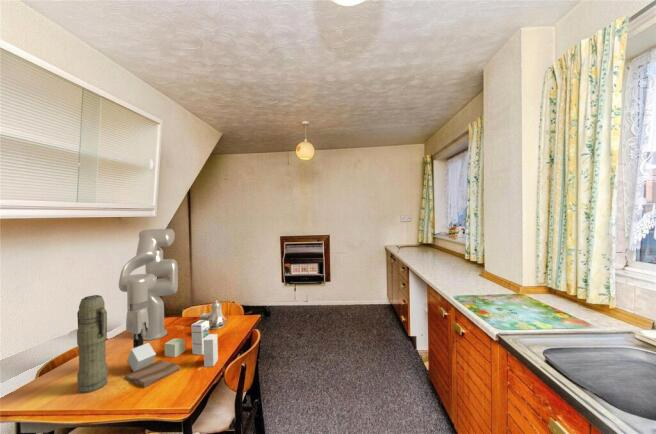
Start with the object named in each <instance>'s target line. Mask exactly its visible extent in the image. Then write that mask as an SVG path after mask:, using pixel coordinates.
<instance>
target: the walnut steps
mask: <svg viewBox="0 0 656 434" xmlns="http://www.w3.org/2000/svg"><path fill="white" fill-rule="evenodd" d="M179 371H180V364H178V363H177V364H176V363H175V362H172V361H169V360H168V361H167V362H166V361H164V360H162V359H159V360H157V361H155V362H154V361H153V363H152V364H150V365H148V366H146V367H143V368H141V369H139V370H137V371H134V372H133V371H132V372H130V373H127V374H126V375H125V377H124V378H125V379H127V380H129V381H130V382H132V383H134V384H137V385H138V386H140V387H142V388H144V389H145V388H147V387H149V386H151V385H153V384H155V383H157V382H159V381H161V380H163V379H165V378H167V377H168V376H170V375H172V374H174V373H177V372H179Z"/></svg>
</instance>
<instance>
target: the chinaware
mask: <svg viewBox="0 0 656 434" xmlns="http://www.w3.org/2000/svg"><path fill="white" fill-rule="evenodd" d="M222 305H223V303H222V302H219V301H218V300H217V299H216V300H214V302H213V303H211V304H210V307H211V312H206V313H205V312H203V313H201V314H200V315H198V318H199V319H200V320H207V321H209V330H219V329H222V328H223V327H225V324H226V322H227V318H226V317H225V316H224V314H223V311H222Z"/></svg>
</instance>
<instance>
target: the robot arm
mask: <svg viewBox="0 0 656 434" xmlns="http://www.w3.org/2000/svg"><path fill="white" fill-rule="evenodd" d="M175 236H176V234H175V231H174V229H172V228H152V229H150V228H149V229H144V230H143V229H142V230H141V231H139V232H138V238H139V239H138V243H137V244H138V245H137V249H136V254H135V256H133V257H132V258H131V259H130V260H128V261H127V262H126V264H124V266H123V267H122V269H121V271H120V274H119V280H118V288H119V291H121V292H122V293H123V292H124V293H127V294H126V297H127V299H126V300H127V302H126V303H127V304H126V306H127V307H126V308H127V312H126V317H125V318H126V321H125V322H126V323H125V329H126V332H129V333H131V334H132V339H133V341H132V342H133V343H132V344H133V348H136V347H139V346H141V345H144V341H152V340H157V339H161V338H164V337H165V336H166V335H168V330H167V329H165V305H164V304H165V303H164V301H163V299H162V298H161V297H163V296H170V295H174V294H176V293H177V292H178V289H179V288H178V287H179V267H178V262H177V260H176V259H174V258H168V259H167V258H166V259H164V250H163V249H162V248H161V247H169V246H171V245H172V244H173V243H174V241H175V238H176V237H175ZM143 266H145V268H144V269H145V273H139V274H131V273H132V272H134V271H135V270H137V269H138V268H141V267H143ZM159 277H164V278H159ZM165 277H167V278H165ZM133 348H132V349H133Z"/></svg>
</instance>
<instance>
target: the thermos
mask: <svg viewBox="0 0 656 434" xmlns="http://www.w3.org/2000/svg"><path fill="white" fill-rule="evenodd" d="M76 313H77V314H76V315H77V330H76V342H77V343H76V345H77V346H78V371H77V374H76V375H77V377H76V380H77V382H76V383H77V392H78V393H79V394H88V393H92V392H96V391H99V390H100V389H101V388H104V386H106V385H107V384H108V375H109V373H108V370H109V369H108V364H107V362H106V357H107V355H106V354H107V353H106V341H107V338H108V332H107V331H108V312H107V310H106V308H105V300H104V298H103V296H102V295H100V294H98V295H97V294H93V295H88V296H85V297H83V298H81V300H80V303H79V305H78V311H77V312H76Z"/></svg>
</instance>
